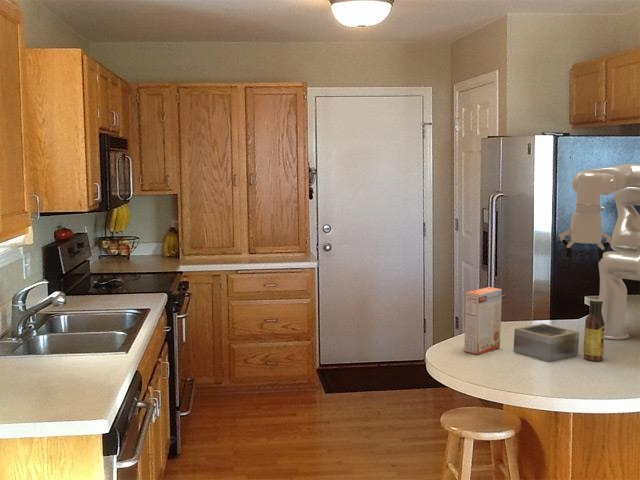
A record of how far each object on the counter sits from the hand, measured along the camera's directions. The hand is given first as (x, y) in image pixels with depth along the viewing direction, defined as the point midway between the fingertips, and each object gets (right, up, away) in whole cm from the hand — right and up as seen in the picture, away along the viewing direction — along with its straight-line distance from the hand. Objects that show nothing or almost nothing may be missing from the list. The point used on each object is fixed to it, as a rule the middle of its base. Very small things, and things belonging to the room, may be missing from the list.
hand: (583, 260), depth 266 cm
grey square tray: (-12, -32, +1) cm, 34 cm away
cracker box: (-34, -31, +4) cm, 46 cm away
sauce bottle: (+1, -33, -6) cm, 33 cm away
